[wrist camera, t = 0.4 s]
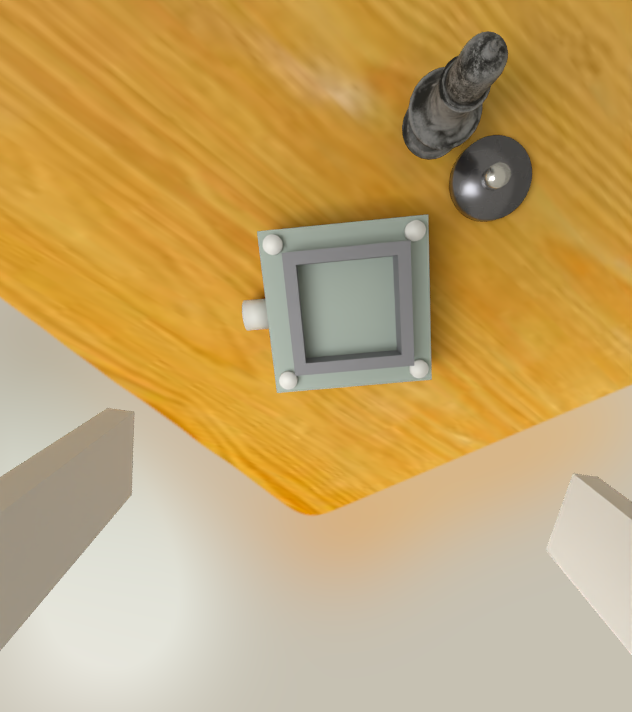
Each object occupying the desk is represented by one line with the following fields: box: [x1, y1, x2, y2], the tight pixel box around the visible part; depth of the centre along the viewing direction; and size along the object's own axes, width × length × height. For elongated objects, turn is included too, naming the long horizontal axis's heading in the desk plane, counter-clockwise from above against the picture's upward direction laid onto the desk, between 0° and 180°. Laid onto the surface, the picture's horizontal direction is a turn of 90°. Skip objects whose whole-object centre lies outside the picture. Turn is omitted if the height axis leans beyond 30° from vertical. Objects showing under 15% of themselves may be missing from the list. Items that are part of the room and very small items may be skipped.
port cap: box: [449, 135, 532, 222], centre depth 31 cm, size 7×7×2 cm
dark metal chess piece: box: [402, 32, 508, 159], centre depth 26 cm, size 6×6×12 cm
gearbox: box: [242, 215, 432, 393], centre depth 32 cm, size 14×16×7 cm
